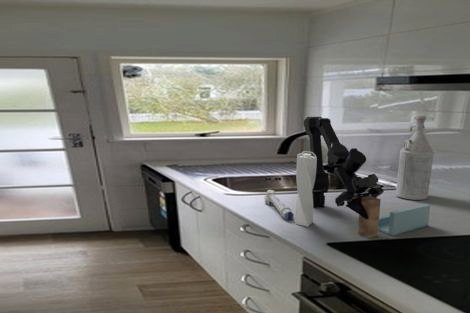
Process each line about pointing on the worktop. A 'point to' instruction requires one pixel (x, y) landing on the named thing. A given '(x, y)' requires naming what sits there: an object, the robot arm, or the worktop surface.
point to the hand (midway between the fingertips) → (372, 217)
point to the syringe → (278, 205)
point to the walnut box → (371, 224)
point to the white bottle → (415, 164)
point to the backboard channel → (405, 220)
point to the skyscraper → (305, 187)
